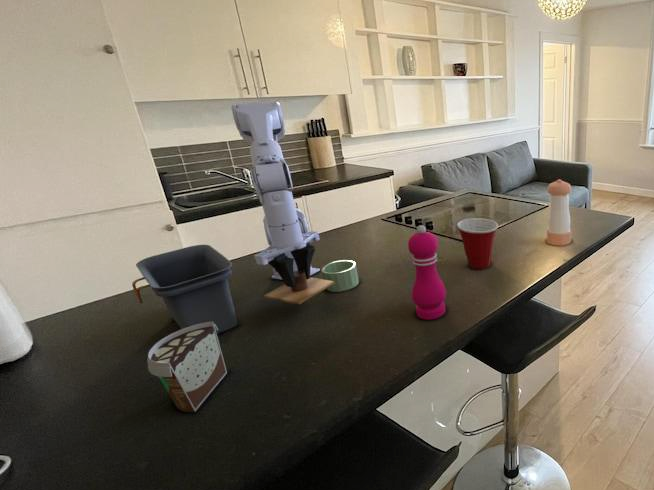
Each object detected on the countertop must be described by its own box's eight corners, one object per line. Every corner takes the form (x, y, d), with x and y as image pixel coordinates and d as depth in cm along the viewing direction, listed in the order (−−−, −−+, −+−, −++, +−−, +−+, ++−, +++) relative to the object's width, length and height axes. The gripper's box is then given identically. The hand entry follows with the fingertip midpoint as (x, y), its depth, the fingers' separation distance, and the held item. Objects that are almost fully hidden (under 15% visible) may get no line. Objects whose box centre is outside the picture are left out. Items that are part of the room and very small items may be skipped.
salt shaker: (574, 239, 126) (576, 178, 119) (564, 247, 120) (565, 183, 113) (553, 235, 130) (553, 176, 123) (542, 243, 124) (542, 181, 117)
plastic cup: (495, 274, 105) (493, 230, 101) (455, 272, 107) (451, 229, 103) (503, 257, 115) (502, 217, 110) (466, 256, 117) (463, 216, 113)
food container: (196, 370, 73) (177, 322, 70) (231, 367, 74) (214, 319, 70) (146, 422, 62) (121, 369, 58) (189, 418, 62) (166, 365, 59)
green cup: (318, 289, 102) (314, 271, 100) (341, 275, 108) (337, 258, 107) (344, 293, 99) (340, 275, 97) (365, 279, 106) (362, 262, 104)
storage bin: (256, 325, 87) (237, 264, 82) (167, 361, 76) (138, 294, 71) (224, 296, 100) (206, 242, 95) (145, 323, 90) (119, 264, 84)
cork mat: (264, 297, 86) (259, 280, 85) (301, 277, 95) (297, 261, 94) (299, 304, 83) (294, 287, 81) (334, 283, 91) (331, 266, 90)
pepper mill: (453, 306, 91) (445, 221, 83) (438, 323, 85) (428, 232, 77) (424, 302, 93) (414, 218, 86) (408, 318, 87) (395, 230, 79)
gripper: (266, 236, 75) (284, 300, 81) (324, 213, 88) (336, 270, 93) (240, 233, 78) (258, 295, 83) (300, 211, 90) (313, 267, 96)
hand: (298, 282), depth 88 cm, fingers closed on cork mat, 3 cm apart
